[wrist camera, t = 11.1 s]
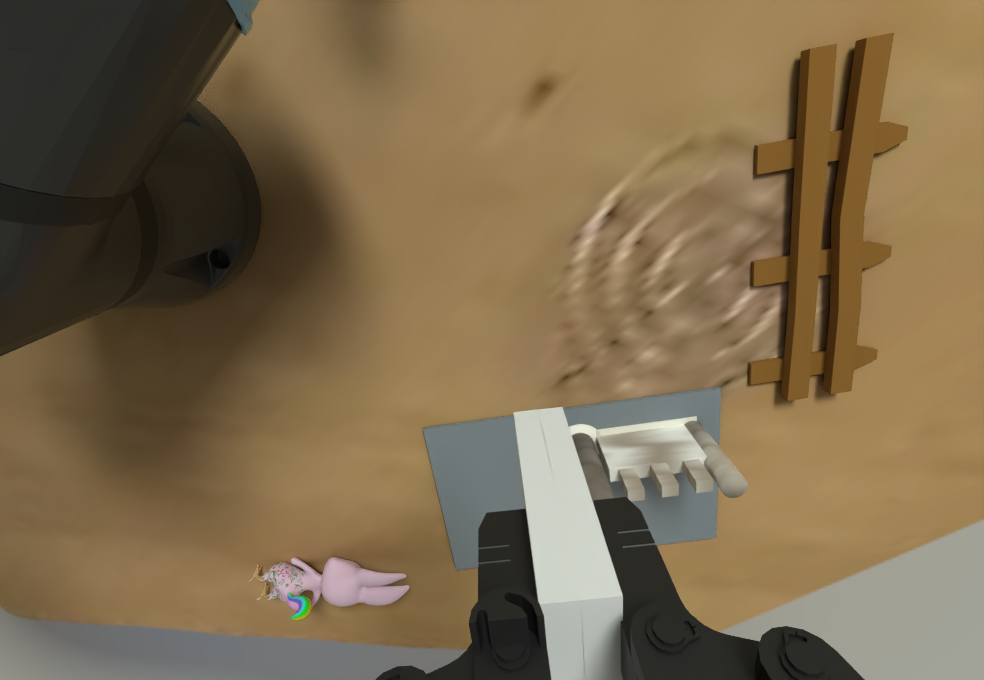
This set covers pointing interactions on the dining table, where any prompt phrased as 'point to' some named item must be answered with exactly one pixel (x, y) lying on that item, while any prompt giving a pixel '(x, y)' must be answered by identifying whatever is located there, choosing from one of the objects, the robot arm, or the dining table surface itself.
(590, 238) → the dining table surface
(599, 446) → the white fence section
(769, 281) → the decorative fence
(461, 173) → the dining table surface
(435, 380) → the dining table surface
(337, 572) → the rabbit figure
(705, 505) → the board
